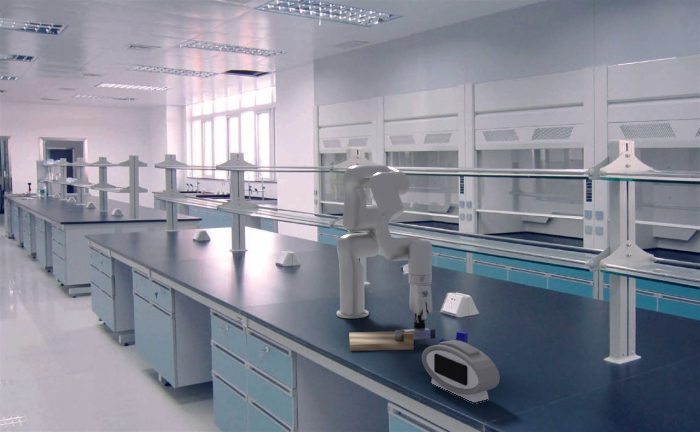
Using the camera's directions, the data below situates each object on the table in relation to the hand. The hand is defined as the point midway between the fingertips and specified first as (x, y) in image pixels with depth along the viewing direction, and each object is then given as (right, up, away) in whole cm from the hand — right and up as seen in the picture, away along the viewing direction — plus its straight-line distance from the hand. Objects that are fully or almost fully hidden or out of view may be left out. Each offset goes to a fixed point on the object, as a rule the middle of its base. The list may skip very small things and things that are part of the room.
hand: (419, 333), depth 201 cm
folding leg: (-2, -1, -4) cm, 4 cm away
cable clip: (+10, -4, -14) cm, 17 cm away
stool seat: (-13, -3, 0) cm, 13 cm away
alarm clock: (+5, -7, -44) cm, 44 cm away
